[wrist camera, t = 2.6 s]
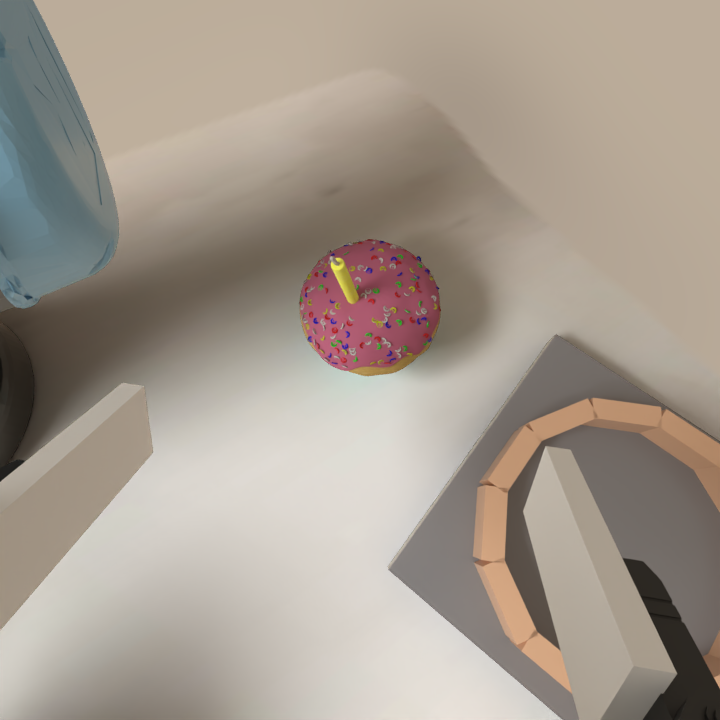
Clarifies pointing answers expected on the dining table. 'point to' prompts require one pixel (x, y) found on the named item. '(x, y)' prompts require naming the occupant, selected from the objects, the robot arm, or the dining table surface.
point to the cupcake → (370, 308)
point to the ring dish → (612, 495)
